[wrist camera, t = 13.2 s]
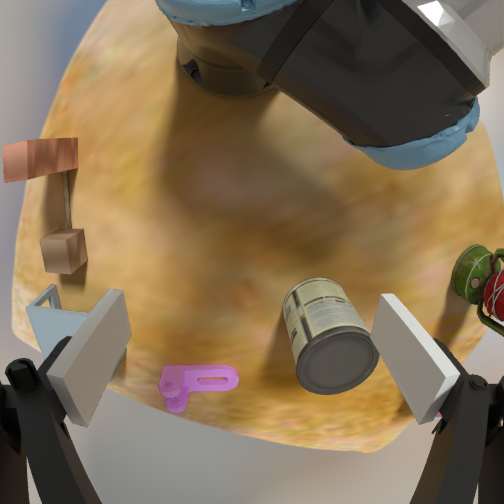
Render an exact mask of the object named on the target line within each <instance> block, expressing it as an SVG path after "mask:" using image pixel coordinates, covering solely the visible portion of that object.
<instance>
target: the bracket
mask: <svg viewBox="0 0 504 504" xmlns="http://www.w3.org/2000/svg"><path fill="white" fill-rule="evenodd" d="M200 377H225V378H227V379H222V380H201V379H199V378H200ZM238 383H239V374H238V372H237V370H236V369H234V368H233V367H231V366H229V365H164V368H163V371H162V375H161V378H160V381H159V385H158V387H159V390H160V392H161V395H162V396H164V397H166V398H165V405H166V408H167V410H168V411H169V412H171V413H174V414H177V413H181V412H183V411H184V410H185V409H186V407H187V403H188V397H189V393H190V392H208V391H229V390H232V389H234V388H235V387H236V386H237V385H238ZM175 403H176V404H175Z"/></svg>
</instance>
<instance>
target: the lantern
mask: <svg viewBox="0 0 504 504" xmlns="http://www.w3.org/2000/svg"><path fill="white" fill-rule="evenodd" d="M499 258H500V260H502V261H503V262H504V249H500V248H497V250H496V252H495V254H493V253H491V252H490V251H488V250H487V249H486V248H485V247H484V246H482V245H480V244H475V245H471V246H469V247H468V248H467V249H465V250H464V251H463V252H462V254H461V255H460V256H459V258H458V259H457V261H456V263H455V266H454V268H453V271H452V278H451V283H452V288H453V290H454V291H455V293H456V294H457V295H459V296H462V297H463V298H464V299H466V300H467V301H468V302H469V303H470V304H474V305H478V307H477V315H478V317H479V319H480V321H481V322H482V323H483V324H485V325H486V326H488V327H490V328H491V329H493V330H494V331H496V332H497V333H499V334H500V335H502V336H503V337H504V326H502V325H501V324H499V323H498V322H496V321H494V320H493V319H491V318H490V317H491V315H493V316H495V318H497V319H498V320H500V321H504V270H503V269H504V267H503V268H502V270H501V262H500V260H499ZM483 303H484V305H485V307H486V309H487V312H488V313H489V314H490V315H489V316H486V315H485V314H484V313H483V311H482V309H483Z"/></svg>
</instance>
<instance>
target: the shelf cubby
mask: <svg viewBox="0 0 504 504" xmlns="http://www.w3.org/2000/svg"><path fill="white" fill-rule="evenodd" d="M109 290H110V289H108V290H107V292H108V291H109ZM107 292H106V293H107ZM106 293H105V294H104V295H103V297H104V296H105V295H106ZM103 297H102V298H103ZM102 298H101V299H100V300H99V301H98V303H99V302H100V301H101V300H102ZM47 299H49V303H50V306H51V308H47V307H40V306H41V305H42V304H43V303H44V302H45V301H46V300H47ZM98 303H97V304H96V305H95V306H94V308H95V307H96V306H97V305H98ZM94 308H93V309H92V310H91V311H90V313H91V312H92V311H93V310H94ZM26 311H27V314H28V317H29V320H30V323H31V326H32V329H33V331H34V334H35V337H36V340H37V342H38V345H39V347H40V350H41V352H42V355H43V357H44V360H45V359H46V358H47V357H48V356H49V354H50V353H51V351H52V350H53V349H54V347H55V346H56V345H57V343H58V342H59V341H60V340H62V339H63V338H65V337H66V336H72V337H73V336H74V334H75V333H76V332H77V330H78V329H79V328H80V326H81V325H82V324H83V322H84V321H85V320H86V319H87V317H88V316H89V315H90V313H85V312H77V311H69V310H62V307H61V303H60V300H59V296H58V292H57V287H56V285H55V284H51V285H50V286H49V287H48V288H47V289H46V290H45V291H43V292H42V293H41V294H40V295H39V296H38V297H37V298H36V299H35V300H33V301H32V302H31V303H30V304H29V305H28V306H27V307H26ZM126 350H127V348H126V347H125V349H124V351H123V353H122V355H121V357H120V359H119V361H118V363H117V365H116V367H115V369H114V371H113V373H112V375H111V377H110V379H109V381H112V379H113V377H114V375H115V373H116V370H117V368H118V366H119V364H120V362H121V360H122V358H123V356H124V354H125V352H126Z"/></svg>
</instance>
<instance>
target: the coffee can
mask: <svg viewBox="0 0 504 504" xmlns="http://www.w3.org/2000/svg"><path fill="white" fill-rule="evenodd" d="M283 316H284V319H285V322H286V326H287V331H288V335H289V339H290V343H291V347H292V352H293V356H294V360H295V364H296V374H297V379H298V381H299V383H300V384H301V385H302V386H303V387H304V388H305V389H306V390H308V391H310V392H312V393H315V394H321V395H333V394H338V393H342V392H345V391H348V390H350V389H352V388H354V387H356V386H358V385H359V384H361V383H362V382H363V381H364V380H366V379H367V378H368V377H369V376H370V375H371V373H372V372H373V371H374V369H375V367H376V366H377V363H378V360H379V356H380V354H379V352H378V350H377V348H376V347H375V345H374V343H373V342H372V340H371V338H370V335H371V333H370V332H369V330H368V329H367V327H366V325H365V324H364V322H363V321H362V319H361V318H360V316H359V314H358V313H357V311H356V310H355V308H354V307H353V305H352V304H351V302H350V301H349V299H348V298H347V296H346V295H345V293H344V291H343V289H342V288H341V286H340V285H339V284H337V283H336V282H335V281H333V280H330V279H327V278H311V279H308V280H305V281H303V282H301V283H299V284H298V285H296V286H295V287H294V288H293V289H292V290H291V291H290V292H289V293H288V295H287V296H286V298H285V301H284V304H283Z"/></svg>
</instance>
